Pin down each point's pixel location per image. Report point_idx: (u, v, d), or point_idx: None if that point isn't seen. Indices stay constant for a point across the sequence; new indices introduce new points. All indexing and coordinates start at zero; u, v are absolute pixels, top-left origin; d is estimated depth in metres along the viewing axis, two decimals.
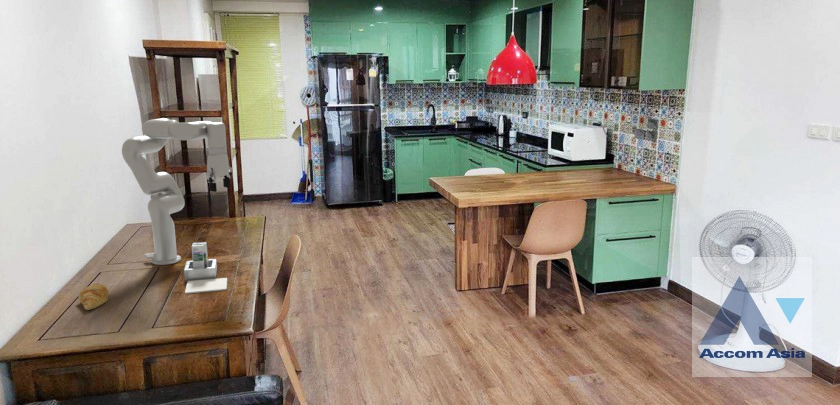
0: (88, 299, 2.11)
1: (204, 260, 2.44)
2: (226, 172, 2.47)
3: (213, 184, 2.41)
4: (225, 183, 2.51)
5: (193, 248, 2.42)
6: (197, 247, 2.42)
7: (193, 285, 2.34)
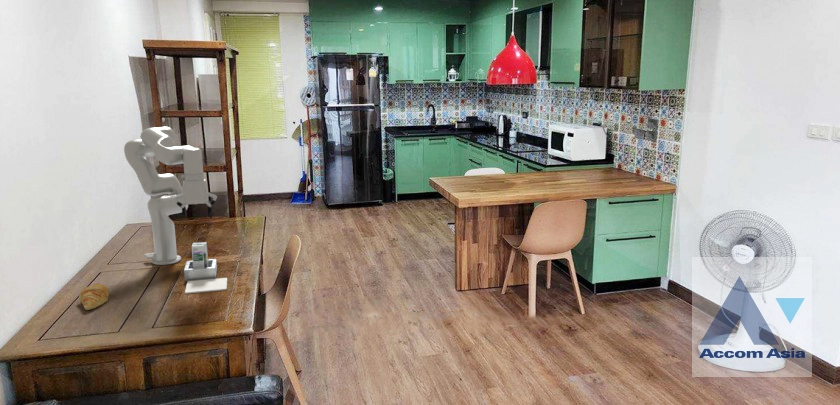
0: (88, 299, 2.11)
1: (204, 260, 2.44)
2: None
3: None
4: (185, 212, 2.39)
5: (193, 248, 2.42)
6: (197, 247, 2.42)
7: (193, 285, 2.34)
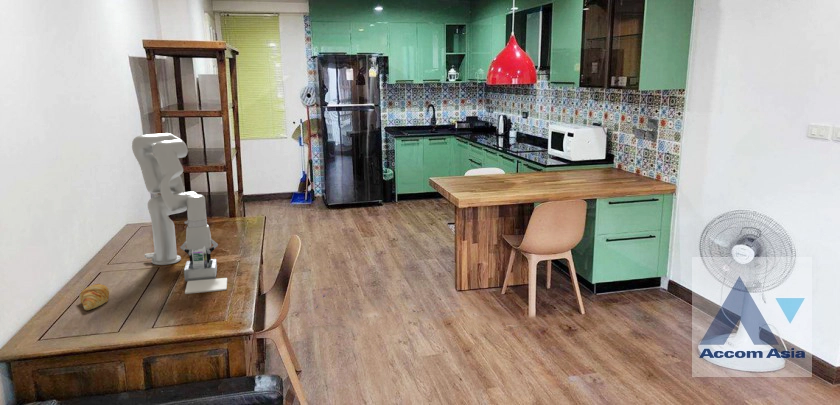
0: (88, 299, 2.11)
1: (204, 260, 2.44)
2: None
3: None
4: None
5: None
6: None
7: (193, 285, 2.34)
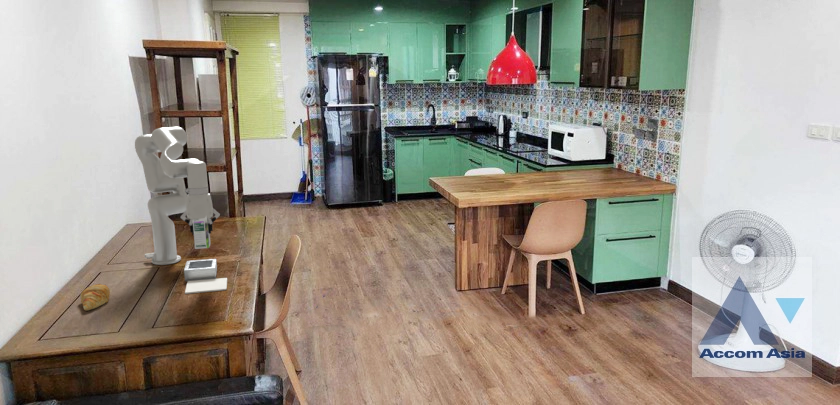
0: (88, 299, 2.10)
1: (205, 230, 2.31)
2: None
3: None
4: None
5: None
6: None
7: (193, 285, 2.34)
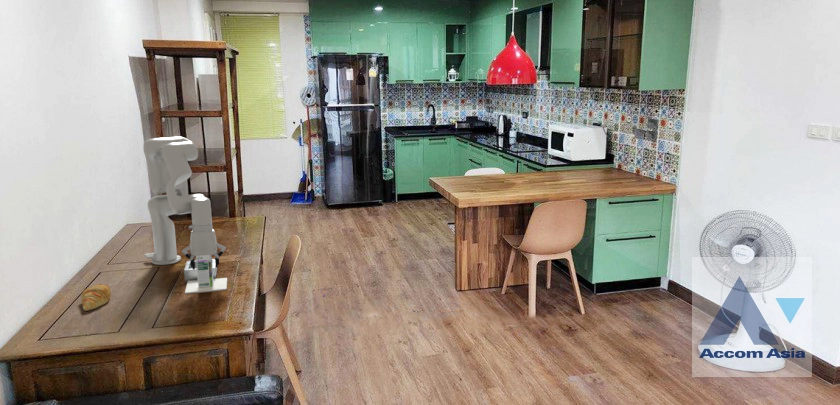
0: (87, 299, 2.10)
1: (209, 269, 2.31)
2: None
3: None
4: (194, 264, 2.31)
5: (197, 257, 2.29)
6: (202, 255, 2.29)
7: (193, 285, 2.34)
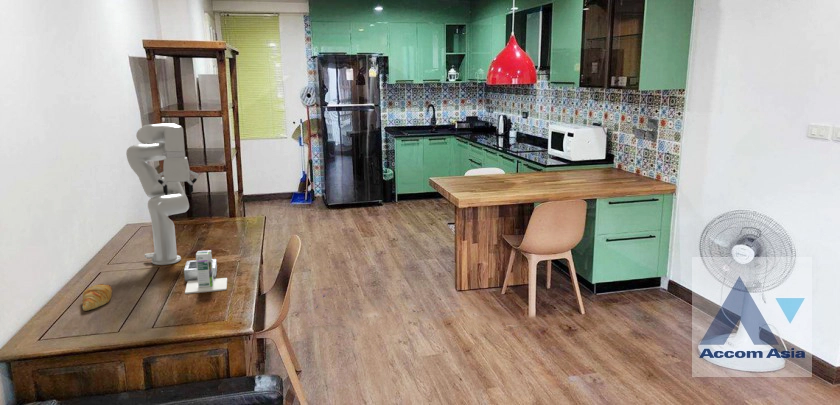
0: (87, 299, 2.10)
1: (209, 269, 2.31)
2: None
3: None
4: (167, 190, 2.39)
5: (197, 257, 2.29)
6: (202, 255, 2.29)
7: (193, 285, 2.34)
